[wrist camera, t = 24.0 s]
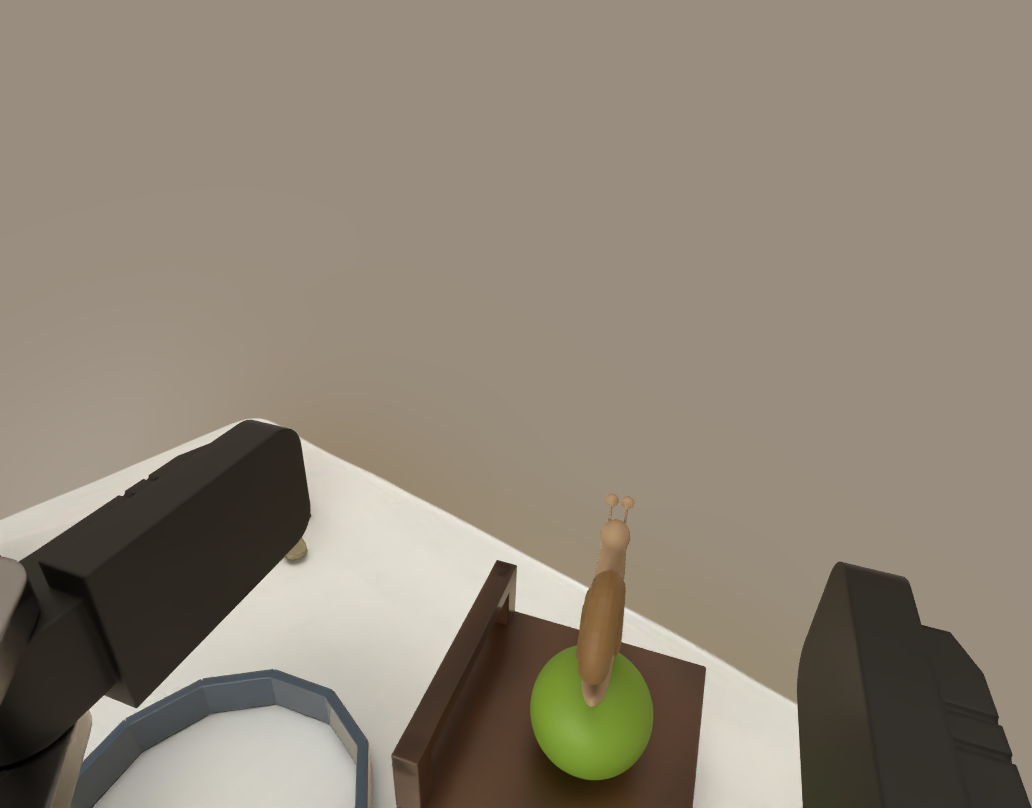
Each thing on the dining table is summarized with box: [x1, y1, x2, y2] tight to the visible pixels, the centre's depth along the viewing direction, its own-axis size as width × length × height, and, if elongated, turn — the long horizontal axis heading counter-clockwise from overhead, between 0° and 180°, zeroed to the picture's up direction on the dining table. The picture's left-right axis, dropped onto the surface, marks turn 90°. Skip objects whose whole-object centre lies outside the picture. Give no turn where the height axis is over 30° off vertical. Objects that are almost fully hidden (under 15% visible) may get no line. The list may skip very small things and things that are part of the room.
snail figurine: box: [530, 494, 653, 780], centre depth 27 cm, size 5×6×12 cm
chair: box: [391, 560, 706, 808], centre depth 31 cm, size 12×12×10 cm
